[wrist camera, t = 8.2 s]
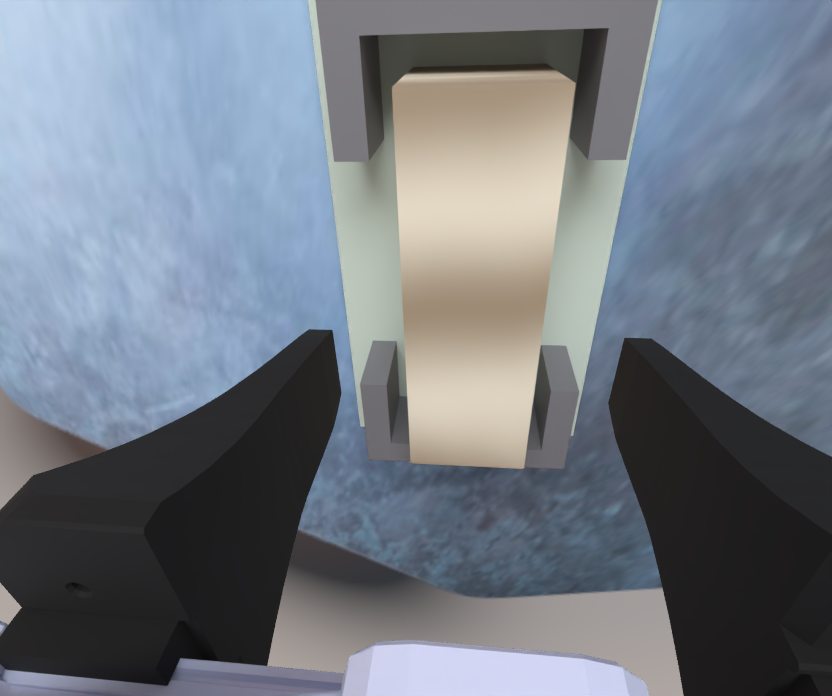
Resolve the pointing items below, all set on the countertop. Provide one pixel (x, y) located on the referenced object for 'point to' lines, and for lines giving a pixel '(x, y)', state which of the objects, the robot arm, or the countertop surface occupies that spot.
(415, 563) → the countertop surface
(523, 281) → the slat
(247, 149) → the countertop surface
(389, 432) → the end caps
